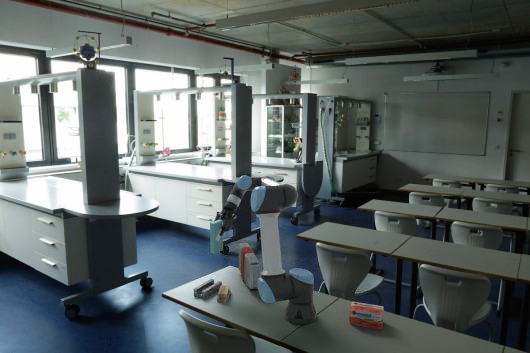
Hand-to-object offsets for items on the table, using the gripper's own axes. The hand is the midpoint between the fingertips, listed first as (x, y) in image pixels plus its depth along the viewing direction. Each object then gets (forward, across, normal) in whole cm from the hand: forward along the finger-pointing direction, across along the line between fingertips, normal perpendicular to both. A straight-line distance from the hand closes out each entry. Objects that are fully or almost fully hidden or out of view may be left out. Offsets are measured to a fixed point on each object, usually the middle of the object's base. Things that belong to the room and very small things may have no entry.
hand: (214, 239), depth 220 cm
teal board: (+4, 0, -6) cm, 7 cm away
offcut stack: (+25, -11, -16) cm, 31 cm away
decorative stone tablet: (+9, -12, -31) cm, 35 cm away
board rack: (+24, 0, -16) cm, 29 cm away
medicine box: (+14, -83, -26) cm, 89 cm away
